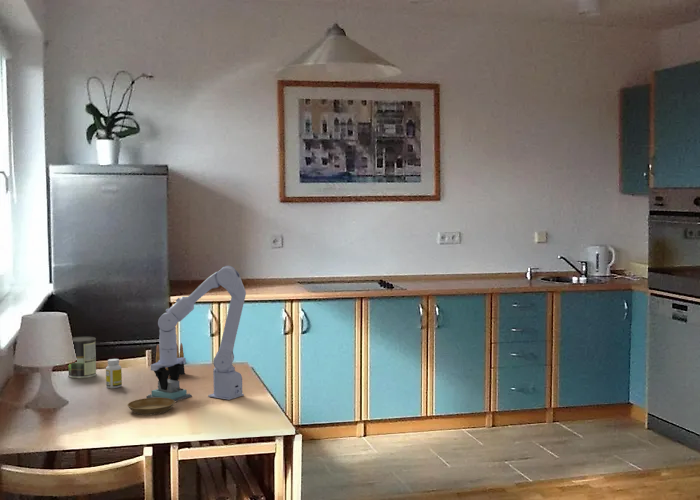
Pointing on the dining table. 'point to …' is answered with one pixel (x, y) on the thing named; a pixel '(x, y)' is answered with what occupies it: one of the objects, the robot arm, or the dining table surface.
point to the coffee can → (83, 358)
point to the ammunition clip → (177, 357)
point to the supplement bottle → (113, 374)
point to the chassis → (169, 395)
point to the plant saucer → (151, 405)
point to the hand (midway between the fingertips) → (169, 388)
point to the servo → (171, 386)
